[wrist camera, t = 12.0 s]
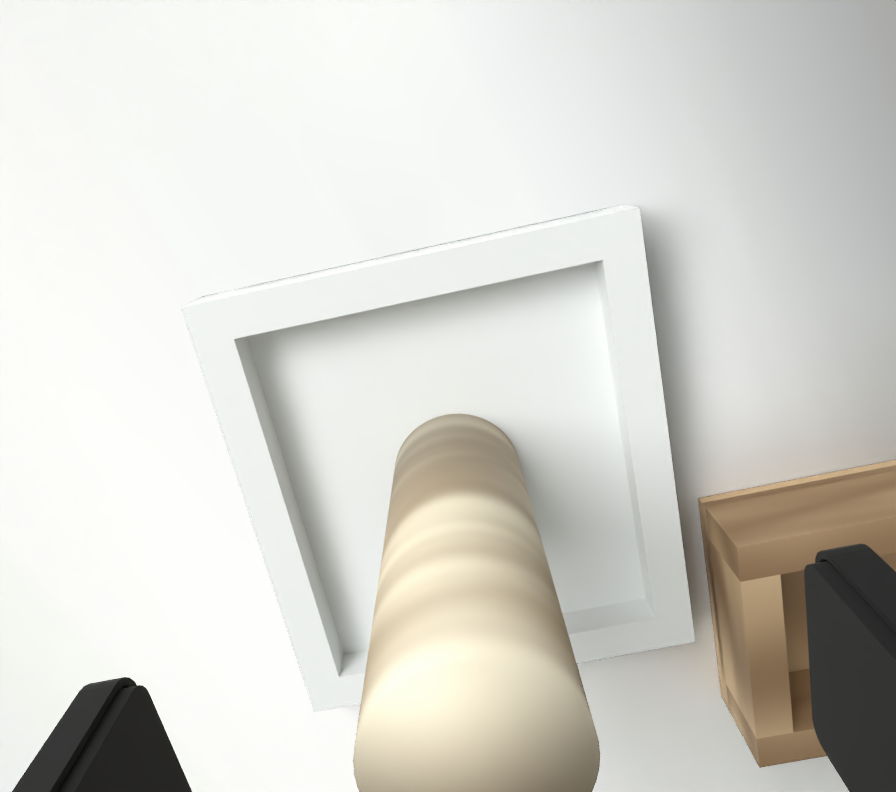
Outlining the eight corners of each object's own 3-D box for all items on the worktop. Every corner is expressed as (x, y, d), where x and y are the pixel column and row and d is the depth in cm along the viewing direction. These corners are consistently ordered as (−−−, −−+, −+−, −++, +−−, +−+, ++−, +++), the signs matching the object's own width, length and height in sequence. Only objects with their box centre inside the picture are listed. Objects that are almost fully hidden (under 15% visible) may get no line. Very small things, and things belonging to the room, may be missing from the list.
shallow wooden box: (697, 498, 20) (736, 547, 18) (947, 449, 20) (1025, 492, 17) (721, 696, 22) (759, 767, 20) (947, 656, 22) (1017, 722, 19)
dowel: (381, 428, 19) (324, 686, 9) (506, 402, 19) (579, 638, 9) (410, 539, 20) (385, 875, 10) (530, 515, 20) (616, 835, 10)
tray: (201, 296, 18) (180, 307, 17) (622, 204, 18) (639, 207, 16) (323, 674, 22) (314, 712, 20) (677, 608, 21) (695, 641, 20)
